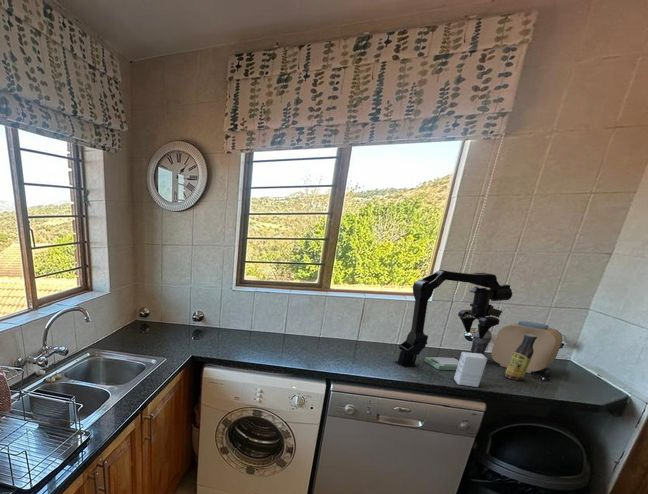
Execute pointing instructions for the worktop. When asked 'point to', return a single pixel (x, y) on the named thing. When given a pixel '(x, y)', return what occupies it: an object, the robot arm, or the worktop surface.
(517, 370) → the sauce bottle
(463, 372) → the white packaging box
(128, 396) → the worktop surface
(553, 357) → the beige toaster
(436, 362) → the kitchen scale
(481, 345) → the beverage cup
